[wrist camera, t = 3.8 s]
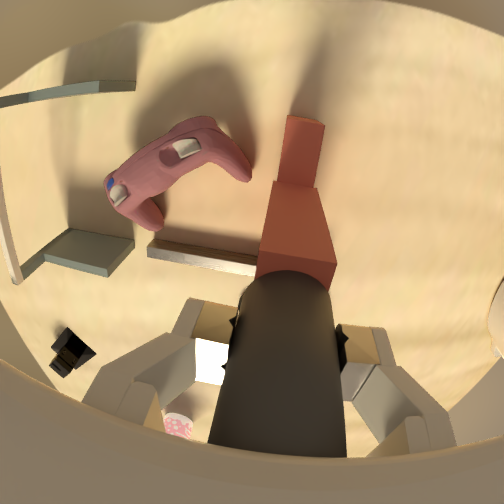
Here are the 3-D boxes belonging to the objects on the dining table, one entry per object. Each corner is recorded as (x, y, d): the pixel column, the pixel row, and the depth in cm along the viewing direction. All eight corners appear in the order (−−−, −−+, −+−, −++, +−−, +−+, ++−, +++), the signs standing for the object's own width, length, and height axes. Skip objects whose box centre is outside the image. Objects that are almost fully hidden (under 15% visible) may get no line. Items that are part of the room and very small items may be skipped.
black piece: (68, 316, 33) (51, 339, 29) (108, 352, 35) (94, 377, 31) (46, 344, 38) (32, 363, 34) (79, 373, 40) (67, 393, 36)
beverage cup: (201, 431, 42) (182, 504, 29) (167, 425, 42) (144, 494, 30) (192, 413, 39) (168, 494, 26) (155, 407, 40) (127, 482, 27)
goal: (135, 81, 19) (58, 81, 11) (134, 247, 26) (82, 308, 18) (61, 89, 19) (-16, 101, 11) (69, 235, 26) (12, 283, 18)
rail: (315, 266, 24) (318, 287, 22) (312, 276, 25) (314, 297, 22) (153, 238, 25) (139, 255, 22) (154, 248, 25) (140, 266, 23)
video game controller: (238, 128, 21) (192, 92, 15) (262, 179, 21) (220, 157, 14) (143, 187, 24) (82, 178, 18) (158, 234, 24) (97, 237, 18)
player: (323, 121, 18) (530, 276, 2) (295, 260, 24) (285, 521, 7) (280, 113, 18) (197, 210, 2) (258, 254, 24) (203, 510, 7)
